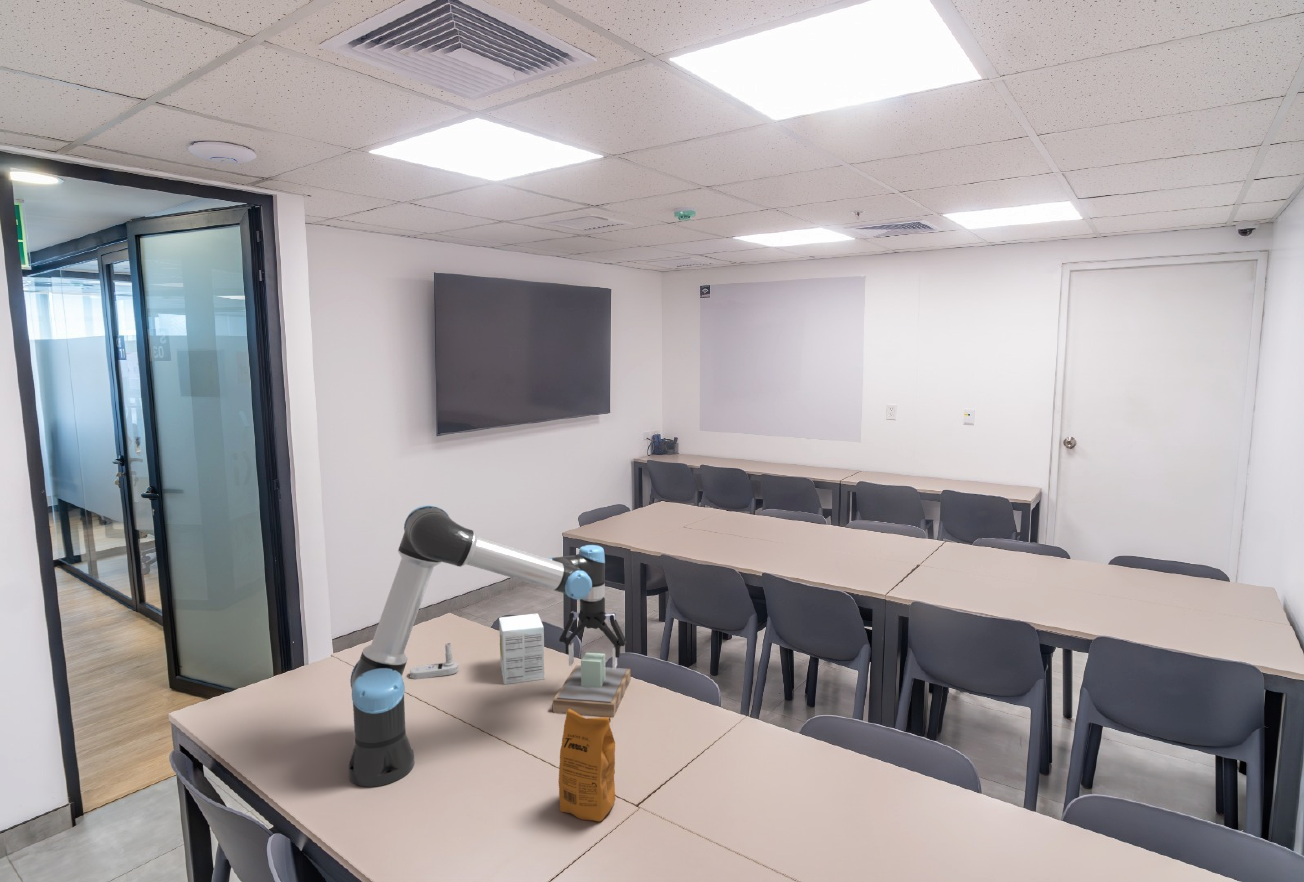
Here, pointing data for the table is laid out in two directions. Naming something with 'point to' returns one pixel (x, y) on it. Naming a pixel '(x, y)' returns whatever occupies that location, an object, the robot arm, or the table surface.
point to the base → (593, 693)
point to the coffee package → (587, 767)
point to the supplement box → (521, 648)
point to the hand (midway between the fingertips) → (592, 665)
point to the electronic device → (436, 667)
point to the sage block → (593, 670)
